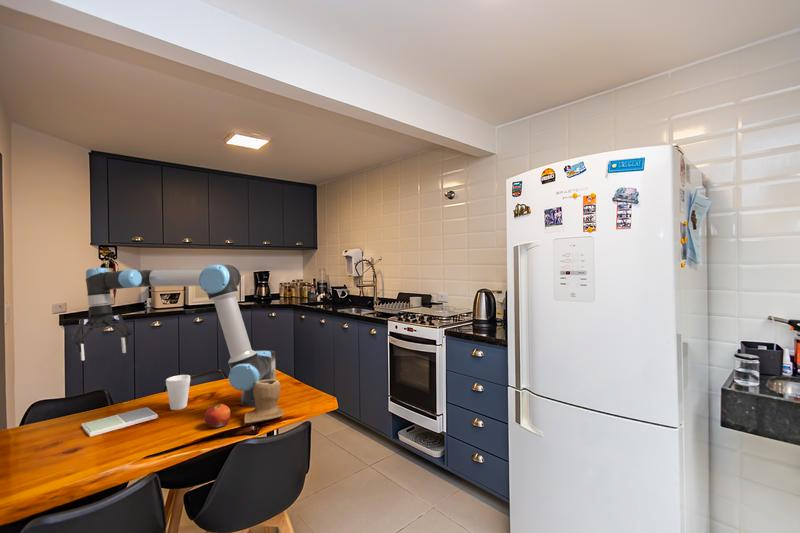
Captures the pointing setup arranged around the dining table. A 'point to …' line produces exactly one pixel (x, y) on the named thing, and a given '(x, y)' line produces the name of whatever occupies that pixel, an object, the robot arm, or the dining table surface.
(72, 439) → the dining table surface
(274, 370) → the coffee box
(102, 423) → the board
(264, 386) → the stone cup
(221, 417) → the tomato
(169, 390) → the foam cup
